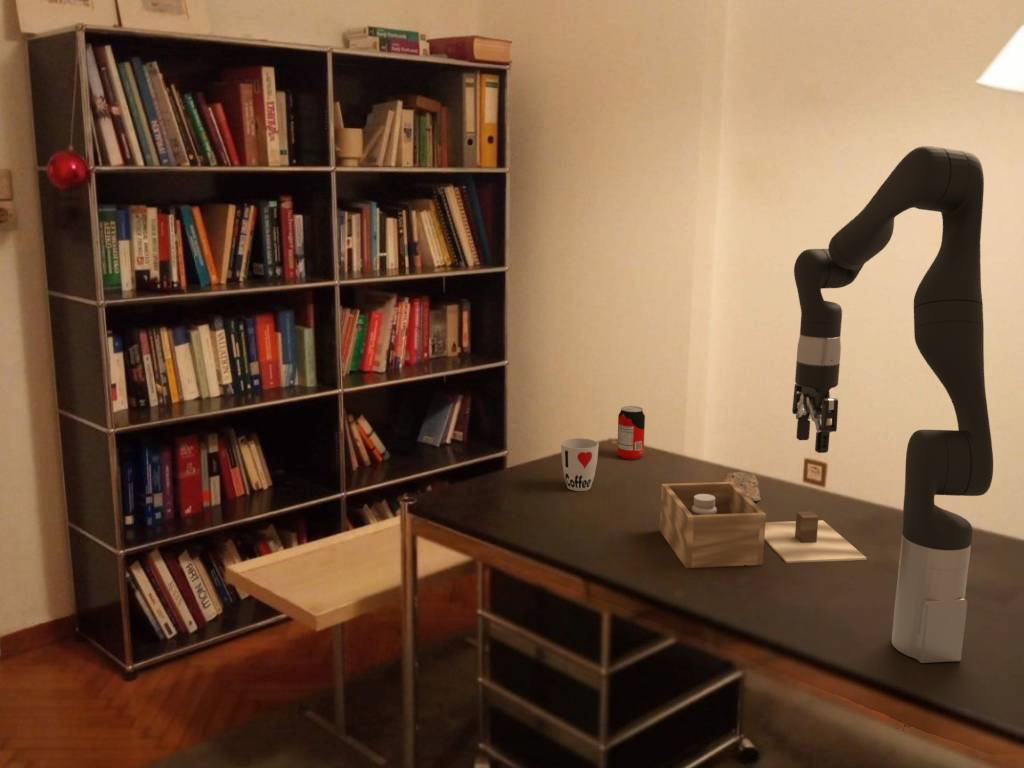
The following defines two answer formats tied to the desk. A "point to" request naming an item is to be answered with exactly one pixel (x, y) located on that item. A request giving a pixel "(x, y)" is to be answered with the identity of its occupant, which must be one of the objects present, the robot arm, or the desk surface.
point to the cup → (579, 462)
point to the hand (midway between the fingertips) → (811, 445)
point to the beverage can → (631, 432)
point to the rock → (745, 483)
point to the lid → (808, 541)
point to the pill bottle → (703, 505)
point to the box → (712, 526)
